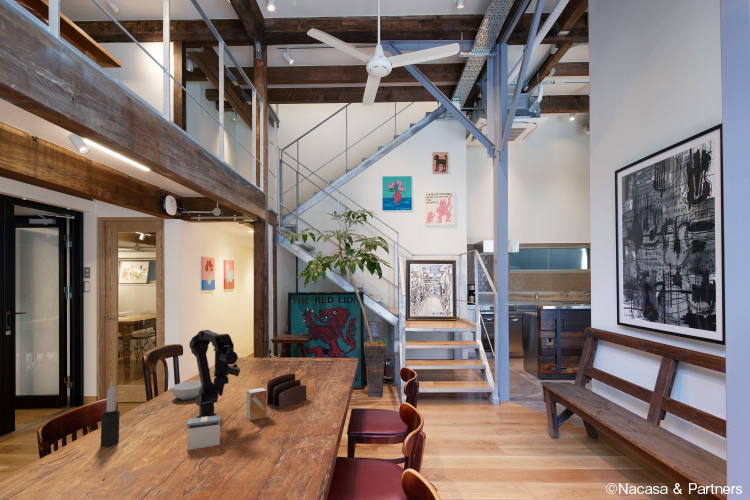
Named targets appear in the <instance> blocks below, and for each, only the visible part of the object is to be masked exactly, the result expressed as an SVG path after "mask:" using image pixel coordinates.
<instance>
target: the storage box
mask: <svg viewBox="0 0 750 500" xmlns="http://www.w3.org/2000/svg"><path fill="white" fill-rule="evenodd" d="M186 434H187V435H186V438H187V439H186V451H190V450H195V449H203V448H209V447H213V446H214V447H215V446H220V445H221V443H220V442H221V422H213V423H206V424H199V425H192V426H187V433H186Z"/></svg>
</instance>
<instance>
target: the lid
mask: <svg viewBox="0 0 750 500" xmlns="http://www.w3.org/2000/svg"><path fill="white" fill-rule="evenodd" d="M221 417H222V416H221V414H218V415H217V414H216V415H215V416H209V417H208V416H207V417H201V418H197V417H195V418H188V420H187V422H186V427H188V426H192V425H199V424H206V423H213V422H220V423H221Z"/></svg>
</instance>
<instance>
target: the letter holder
mask: <svg viewBox="0 0 750 500" xmlns="http://www.w3.org/2000/svg"><path fill="white" fill-rule="evenodd" d="M266 390H267V407H269V408H273V409H276V410H281V409H284V408H286V407H287V408H288V407H290V406H292V405H295V404H297V403H300V402H302V401H305V400H307V396H308V395H307V394H308V393H307V385H305V384H304V385H303V384H302V381H301V380H300V379H296V373H287V374H286V373H285V374H282V375H280V376H276V377H273V378H272V379H270V380H268V381H267V384H266Z"/></svg>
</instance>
